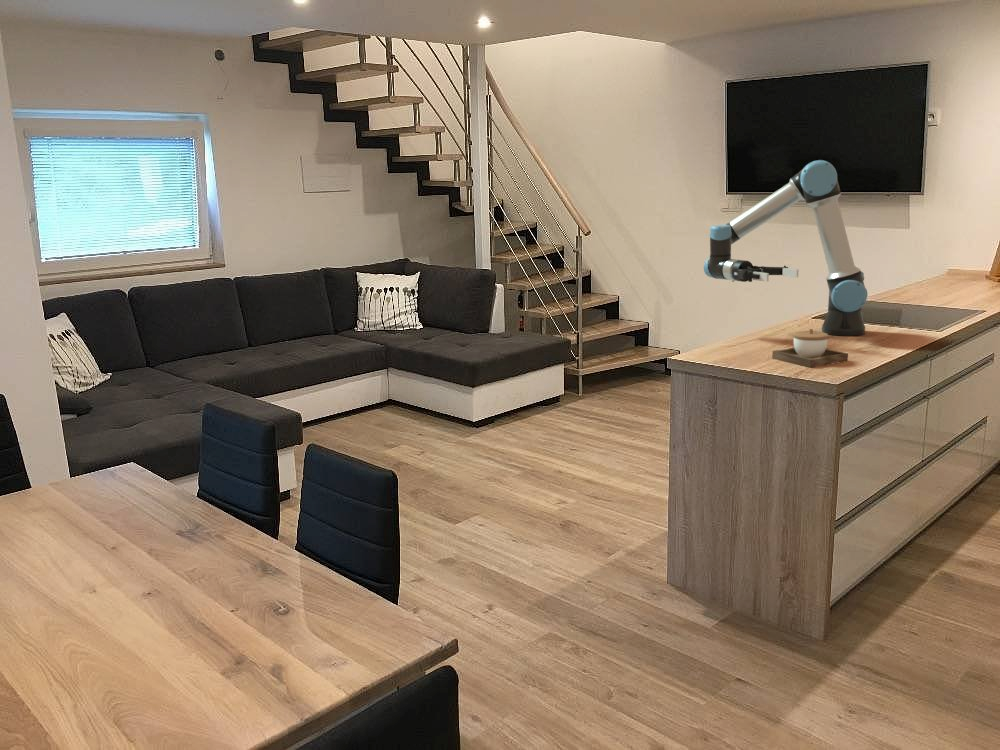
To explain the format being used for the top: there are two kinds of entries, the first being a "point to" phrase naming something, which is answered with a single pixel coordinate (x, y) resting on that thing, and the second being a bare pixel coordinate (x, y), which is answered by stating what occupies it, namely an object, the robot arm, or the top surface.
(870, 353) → the top surface
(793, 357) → the tray
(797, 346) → the lidded jar
